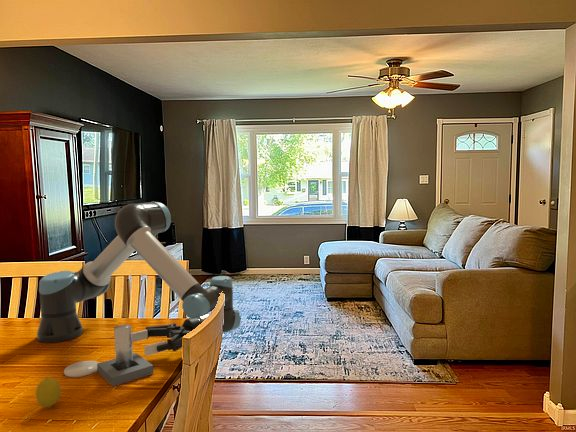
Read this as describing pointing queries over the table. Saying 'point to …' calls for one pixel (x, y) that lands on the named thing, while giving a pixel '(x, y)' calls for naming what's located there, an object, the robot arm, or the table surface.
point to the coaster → (81, 369)
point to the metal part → (123, 347)
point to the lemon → (48, 392)
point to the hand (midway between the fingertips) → (135, 344)
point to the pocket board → (124, 370)
